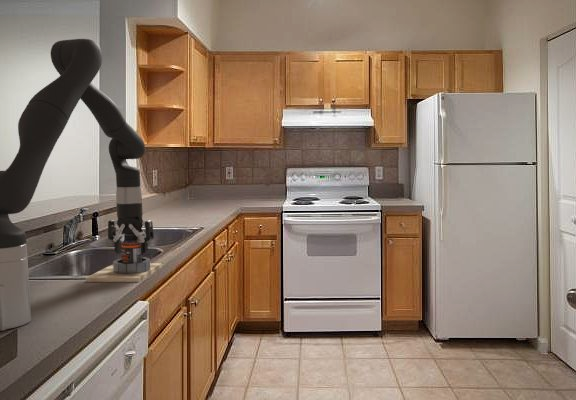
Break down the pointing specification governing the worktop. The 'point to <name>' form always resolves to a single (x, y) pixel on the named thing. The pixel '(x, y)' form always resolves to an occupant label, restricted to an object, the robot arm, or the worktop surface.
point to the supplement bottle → (131, 249)
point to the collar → (131, 266)
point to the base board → (121, 275)
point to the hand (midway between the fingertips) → (131, 253)
